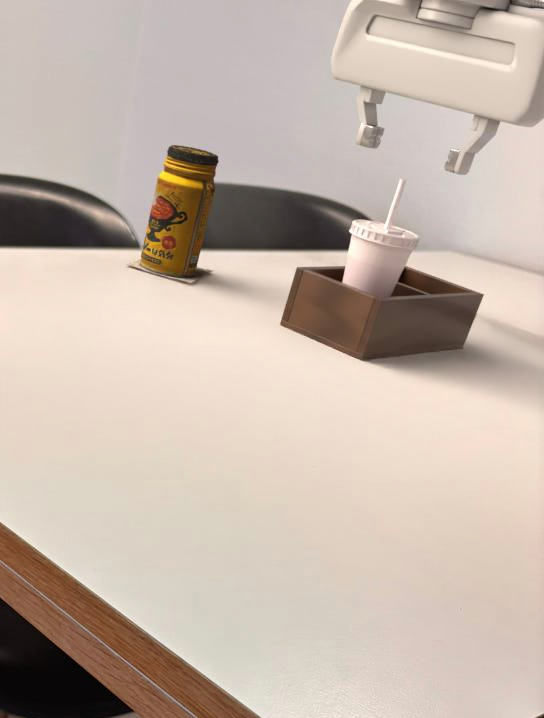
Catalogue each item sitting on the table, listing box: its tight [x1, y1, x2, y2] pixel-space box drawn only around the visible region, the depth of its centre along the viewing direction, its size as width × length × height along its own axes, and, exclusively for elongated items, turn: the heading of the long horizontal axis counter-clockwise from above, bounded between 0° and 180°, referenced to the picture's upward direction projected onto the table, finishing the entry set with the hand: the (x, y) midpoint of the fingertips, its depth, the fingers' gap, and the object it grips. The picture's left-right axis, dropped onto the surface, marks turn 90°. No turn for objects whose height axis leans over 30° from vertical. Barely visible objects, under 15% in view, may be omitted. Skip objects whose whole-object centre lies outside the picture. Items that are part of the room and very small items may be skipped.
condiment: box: [126, 144, 219, 284], centre depth 111 cm, size 7×8×12 cm
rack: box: [279, 265, 485, 361], centre depth 105 cm, size 10×19×6 cm, turn 132°
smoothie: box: [342, 178, 421, 298], centre depth 100 cm, size 6×6×14 cm
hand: (409, 159), depth 95 cm, fingers open, 8 cm apart
